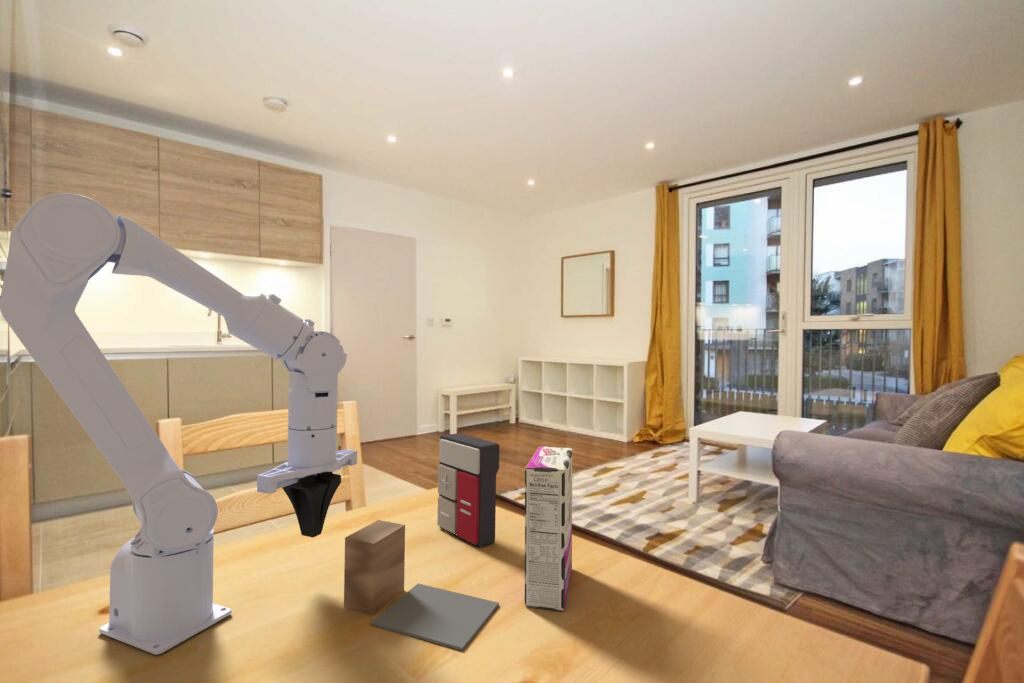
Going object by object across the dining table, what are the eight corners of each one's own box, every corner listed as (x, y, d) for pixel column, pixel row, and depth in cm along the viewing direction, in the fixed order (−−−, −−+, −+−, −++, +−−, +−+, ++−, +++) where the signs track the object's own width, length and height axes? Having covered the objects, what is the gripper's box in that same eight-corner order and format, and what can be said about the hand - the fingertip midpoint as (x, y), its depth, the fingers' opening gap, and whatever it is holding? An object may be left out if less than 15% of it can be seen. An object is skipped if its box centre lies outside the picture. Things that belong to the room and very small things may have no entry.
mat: (371, 624, 52) (371, 621, 52) (417, 585, 60) (417, 583, 60) (462, 650, 48) (462, 647, 48) (498, 605, 56) (498, 602, 56)
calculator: (434, 527, 79) (435, 435, 79) (455, 521, 82) (457, 432, 82) (476, 550, 71) (477, 447, 71) (498, 542, 74) (500, 443, 74)
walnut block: (343, 607, 55) (344, 537, 55) (377, 583, 61) (378, 519, 61) (372, 615, 54) (373, 543, 54) (404, 590, 59) (405, 524, 59)
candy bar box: (535, 564, 67) (537, 445, 67) (572, 568, 66) (574, 447, 66) (521, 608, 56) (523, 465, 56) (564, 613, 55) (567, 468, 55)
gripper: (290, 440, 53) (289, 564, 53) (375, 420, 66) (374, 519, 66) (244, 434, 55) (242, 553, 55) (334, 416, 69) (333, 512, 69)
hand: (311, 534), depth 61 cm, fingers closed
